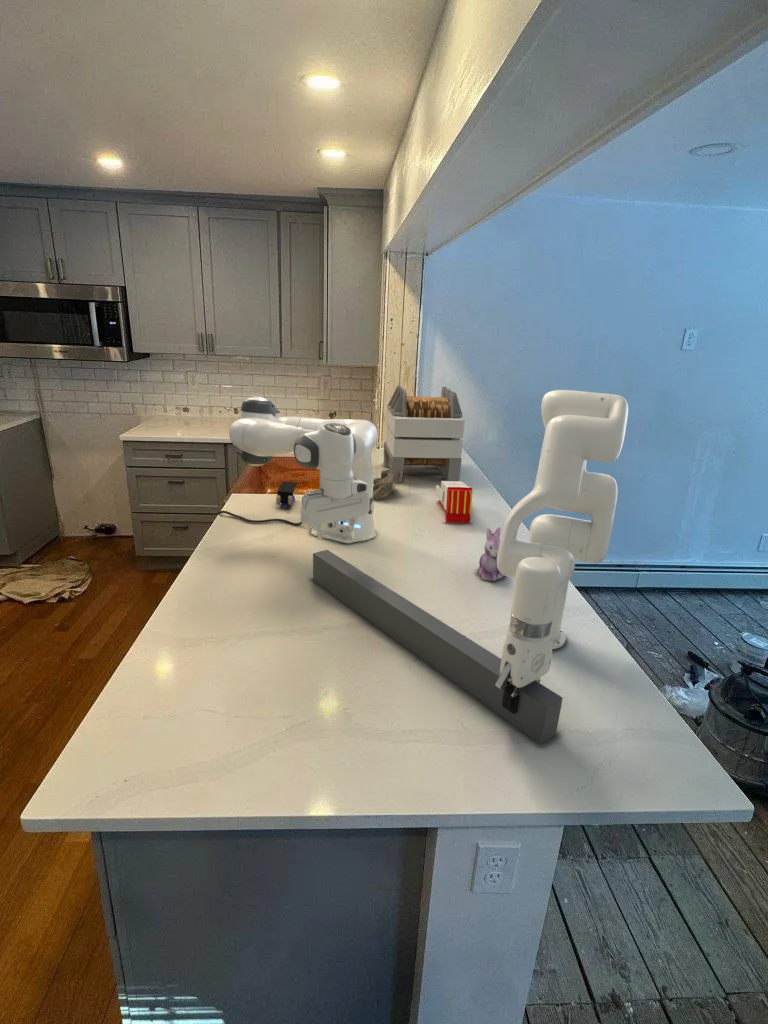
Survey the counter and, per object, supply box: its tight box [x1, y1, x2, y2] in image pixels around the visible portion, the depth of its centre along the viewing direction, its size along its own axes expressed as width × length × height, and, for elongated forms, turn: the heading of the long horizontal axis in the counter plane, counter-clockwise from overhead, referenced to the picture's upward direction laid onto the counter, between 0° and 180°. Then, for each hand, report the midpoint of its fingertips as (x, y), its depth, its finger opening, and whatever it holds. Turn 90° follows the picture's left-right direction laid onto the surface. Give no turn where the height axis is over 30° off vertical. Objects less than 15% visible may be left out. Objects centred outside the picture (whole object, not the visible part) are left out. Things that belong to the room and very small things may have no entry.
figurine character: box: [275, 480, 298, 509], centre depth 223 cm, size 7×8×15 cm
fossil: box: [373, 469, 401, 501], centre depth 241 cm, size 22×10×15 cm
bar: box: [312, 549, 564, 746], centre depth 134 cm, size 80×5×8 cm, turn 38°
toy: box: [435, 480, 473, 524], centre depth 223 cm, size 12×13×30 cm
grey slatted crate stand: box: [383, 384, 465, 483], centre depth 268 cm, size 34×33×41 cm
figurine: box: [478, 526, 504, 582], centre depth 169 cm, size 9×10×15 cm
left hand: (335, 535), depth 154 cm, fingers open, 8 cm apart
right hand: (518, 703), depth 111 cm, fingers closed on bar, 4 cm apart
